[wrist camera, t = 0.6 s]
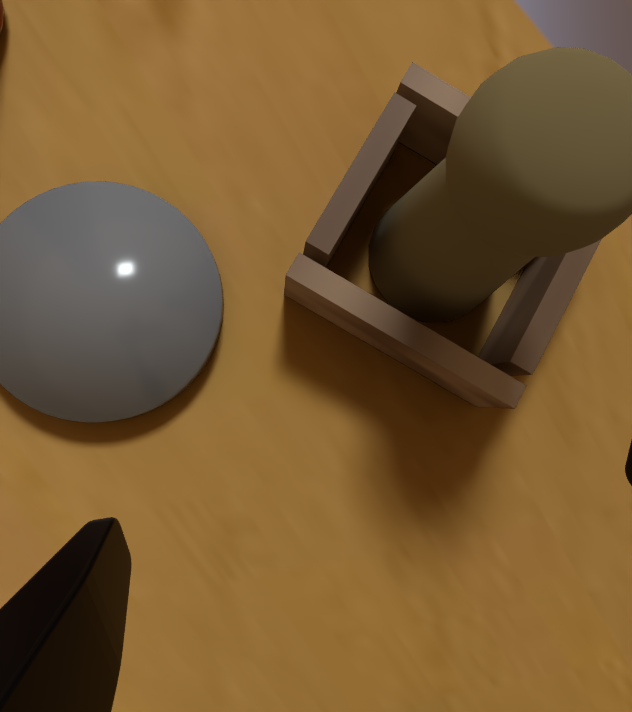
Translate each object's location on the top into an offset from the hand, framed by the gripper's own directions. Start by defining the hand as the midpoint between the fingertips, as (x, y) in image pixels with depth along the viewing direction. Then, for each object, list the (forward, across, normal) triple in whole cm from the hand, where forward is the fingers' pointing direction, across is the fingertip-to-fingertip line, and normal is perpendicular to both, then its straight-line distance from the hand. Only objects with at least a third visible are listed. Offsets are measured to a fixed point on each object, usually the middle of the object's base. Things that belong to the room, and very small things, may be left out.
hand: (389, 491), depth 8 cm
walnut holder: (+15, -6, 0) cm, 16 cm away
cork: (+15, -6, 0) cm, 16 cm away
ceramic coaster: (+14, +8, 0) cm, 17 cm away
